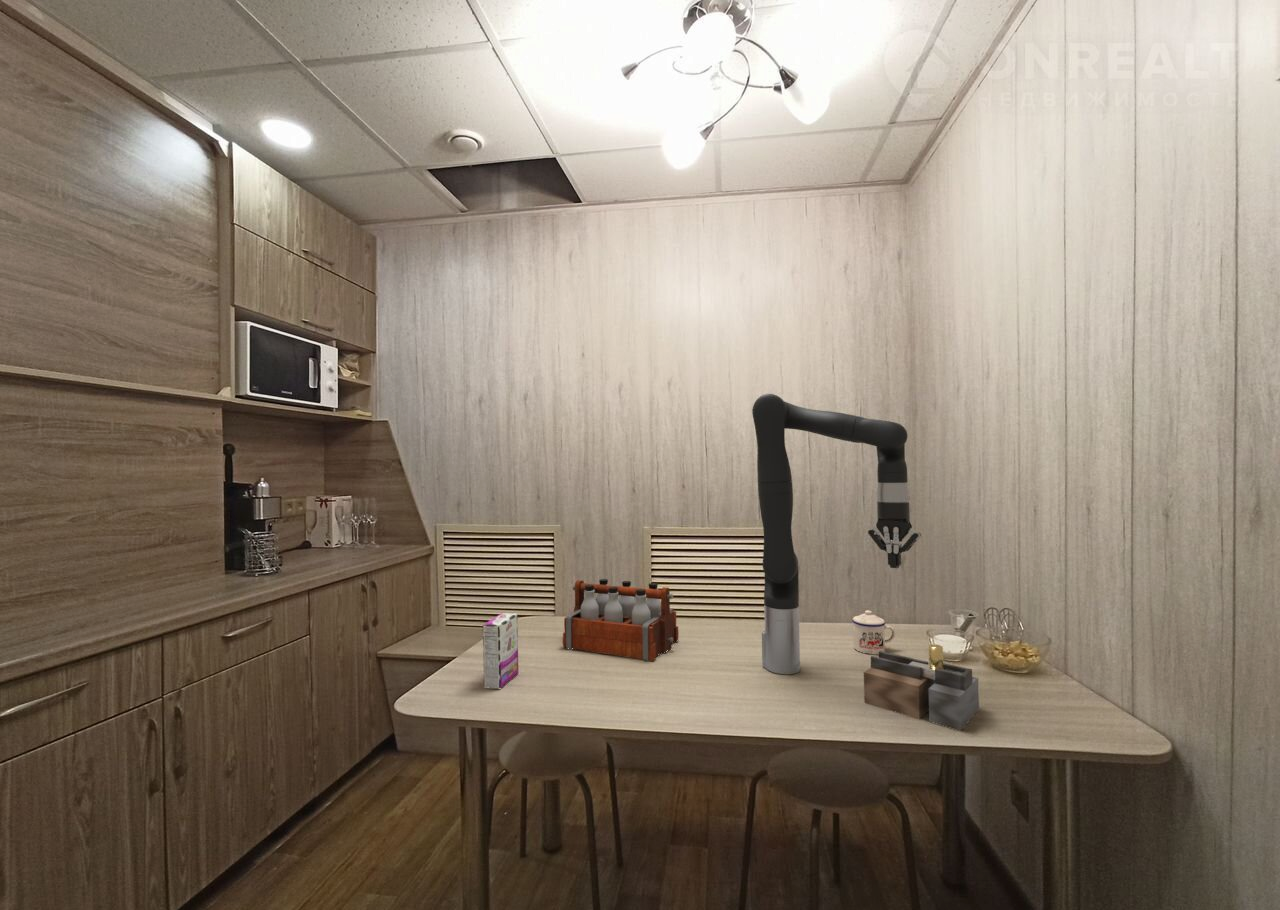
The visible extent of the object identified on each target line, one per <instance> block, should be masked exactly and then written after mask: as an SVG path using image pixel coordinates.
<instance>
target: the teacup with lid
mask: <svg viewBox="0 0 1280 910" xmlns="http://www.w3.org/2000/svg"><path fill="white" fill-rule="evenodd" d="M851 621H852V623H853V627H852V628H853V630H852V631H853V649H854V648H855V649H856V650H857V651H856V650H855V649H854V650H855V651H856V652H858V651H860V652H859V653H861V652H863V653H862V654H865V653H869V654H868V655H879V652H880V651H882V652H886V644H888V643H891V642H892V641H894V639H895V637H896V631H895V629H894V628H893V627H892V626H890V625H886V621H885V620H884V619H883V617H882V618H881V617H879V616H877V615H875V614H873V611H871V610H867V609H866V610H865V611H864V613H861V614H860V615H855V616H853V618H852V620H851ZM885 629H889V630H890V631H891V636H890V637H889V638H888V639H885V636H886V634H885V632H886V631H885Z"/></svg>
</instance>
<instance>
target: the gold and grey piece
mask: <svg viewBox="0 0 1280 910" xmlns="http://www.w3.org/2000/svg"><path fill="white" fill-rule="evenodd" d="M943 651H944V647H943V645H939V644H933V643H932V644H928V662H929V665H927V664H923V663H919V662H914V661H912V662H911V663H910V664H909V665H913V666H918V667H921V671H922V677H926V678H930V679H934V680H935V669H940V670H945V671H949V672H953V673H958V674H963V673H962V672H958V671H954V670H949V669H945V668H943V663H944V652H943Z"/></svg>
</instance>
